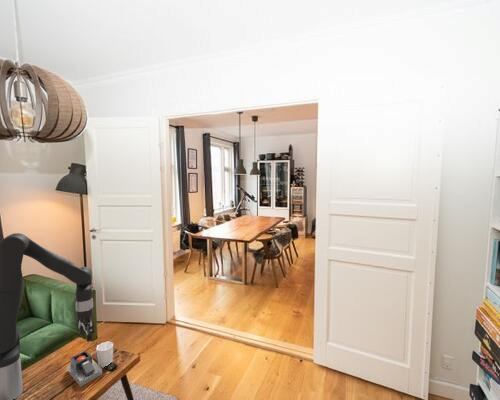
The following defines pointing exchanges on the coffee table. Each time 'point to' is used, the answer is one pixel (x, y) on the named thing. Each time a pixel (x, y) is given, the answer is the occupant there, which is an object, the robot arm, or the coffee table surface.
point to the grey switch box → (78, 371)
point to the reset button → (80, 358)
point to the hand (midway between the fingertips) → (85, 337)
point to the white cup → (104, 353)
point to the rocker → (88, 367)
